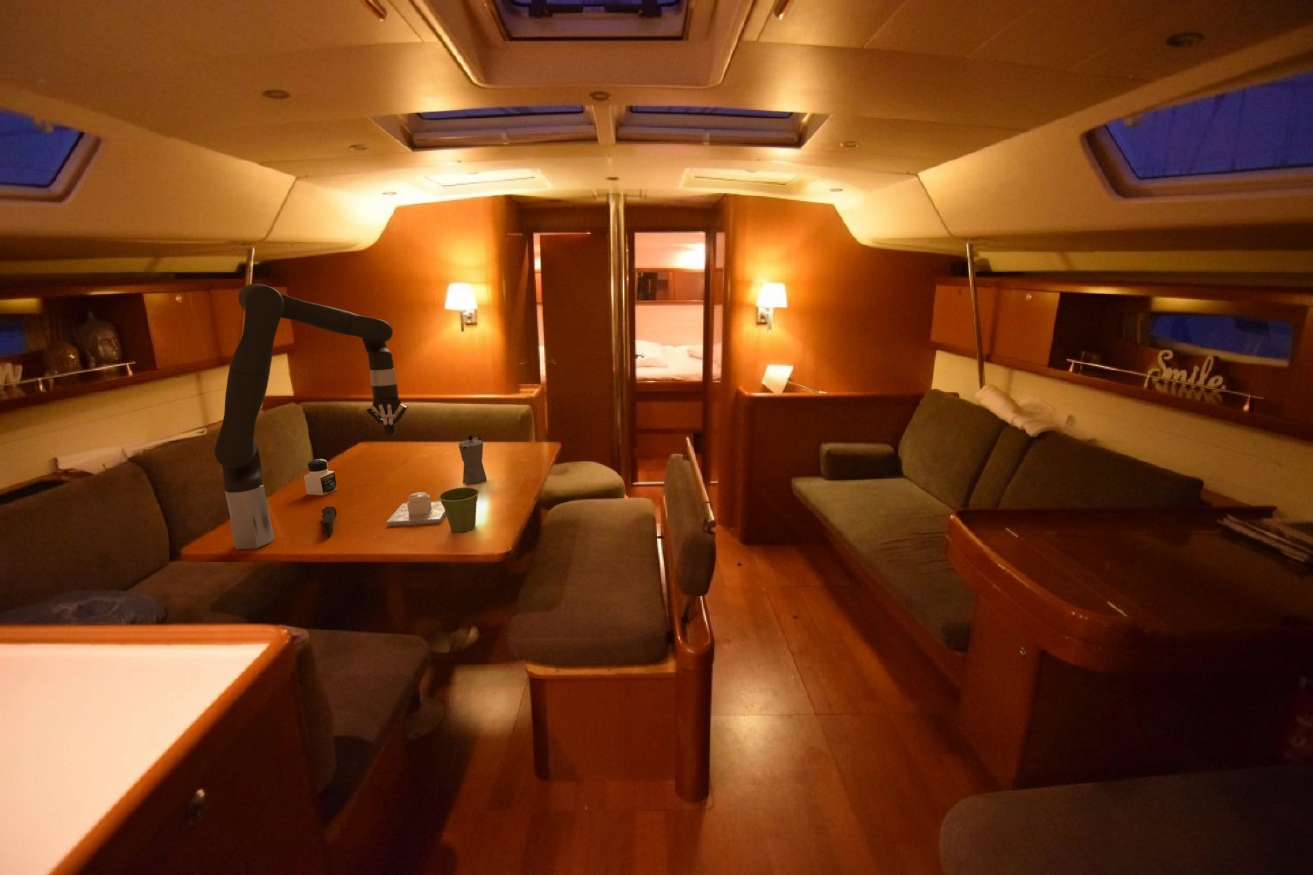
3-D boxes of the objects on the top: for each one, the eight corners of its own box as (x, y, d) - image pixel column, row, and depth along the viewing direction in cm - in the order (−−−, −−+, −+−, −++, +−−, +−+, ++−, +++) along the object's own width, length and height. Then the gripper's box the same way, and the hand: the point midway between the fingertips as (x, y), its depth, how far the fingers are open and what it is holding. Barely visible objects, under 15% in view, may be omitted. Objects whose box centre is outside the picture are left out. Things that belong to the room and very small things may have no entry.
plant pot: (448, 521, 186) (444, 487, 184) (486, 519, 187) (483, 486, 184) (437, 537, 175) (433, 501, 172) (478, 535, 176) (474, 499, 173)
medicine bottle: (323, 495, 212) (318, 463, 209) (306, 494, 214) (300, 463, 210) (337, 489, 219) (332, 458, 216) (321, 488, 220) (315, 457, 217)
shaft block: (440, 523, 185) (438, 508, 184) (387, 526, 184) (385, 511, 182) (452, 504, 201) (450, 491, 199) (403, 507, 199) (401, 493, 198)
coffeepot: (480, 486, 218) (475, 439, 214) (455, 486, 219) (450, 439, 214) (495, 473, 233) (490, 429, 228) (472, 473, 234) (467, 429, 229)
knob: (431, 506, 195) (429, 491, 193) (427, 513, 189) (424, 498, 188) (413, 507, 194) (411, 492, 193) (408, 514, 189) (406, 499, 187)
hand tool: (323, 518, 192) (321, 505, 190) (337, 516, 193) (335, 503, 192) (317, 540, 175) (315, 526, 174) (333, 538, 176) (330, 523, 175)
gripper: (408, 380, 193) (415, 431, 198) (366, 381, 192) (374, 433, 197) (401, 384, 186) (408, 437, 191) (358, 385, 185) (366, 439, 189)
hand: (391, 435), depth 194 cm, fingers closed
